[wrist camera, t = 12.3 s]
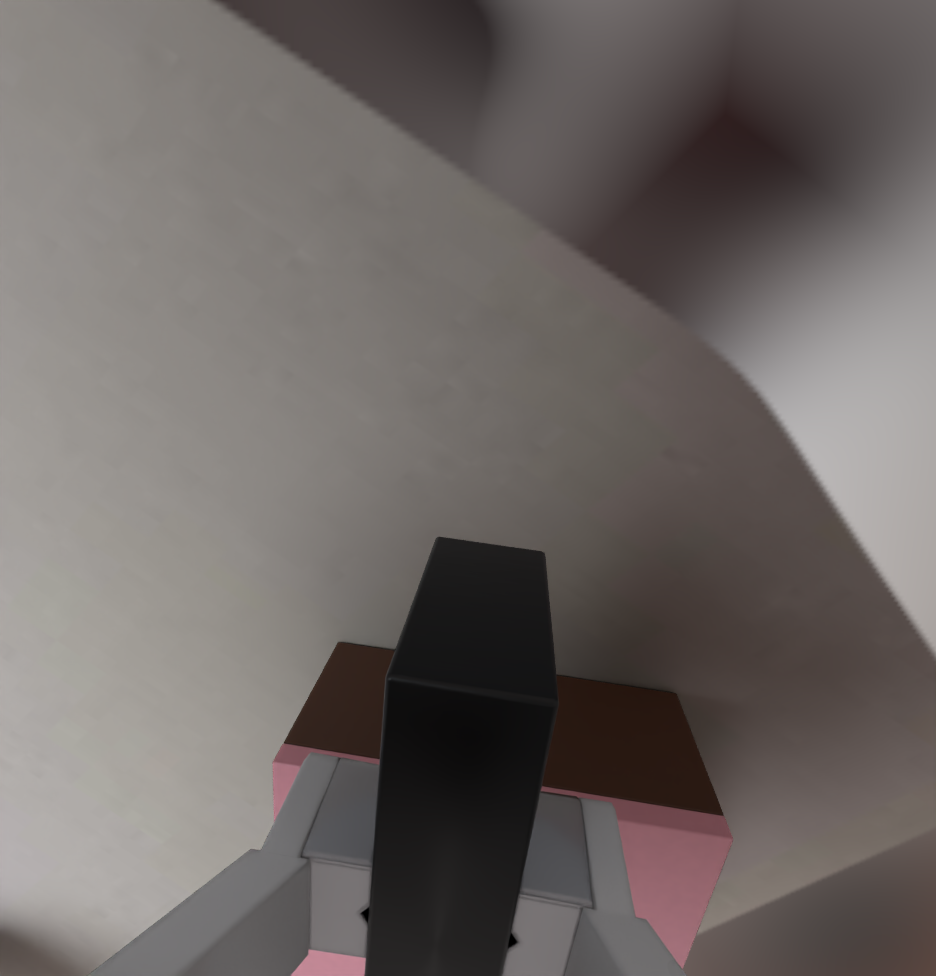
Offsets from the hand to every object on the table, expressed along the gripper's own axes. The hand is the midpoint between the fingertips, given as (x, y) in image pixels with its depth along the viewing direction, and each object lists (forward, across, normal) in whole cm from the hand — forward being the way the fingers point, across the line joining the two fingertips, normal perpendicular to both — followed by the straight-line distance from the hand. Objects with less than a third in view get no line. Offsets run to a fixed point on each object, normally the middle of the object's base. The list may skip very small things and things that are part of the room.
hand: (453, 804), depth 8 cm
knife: (+2, 0, +6) cm, 6 cm away
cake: (+10, -4, +10) cm, 15 cm away
